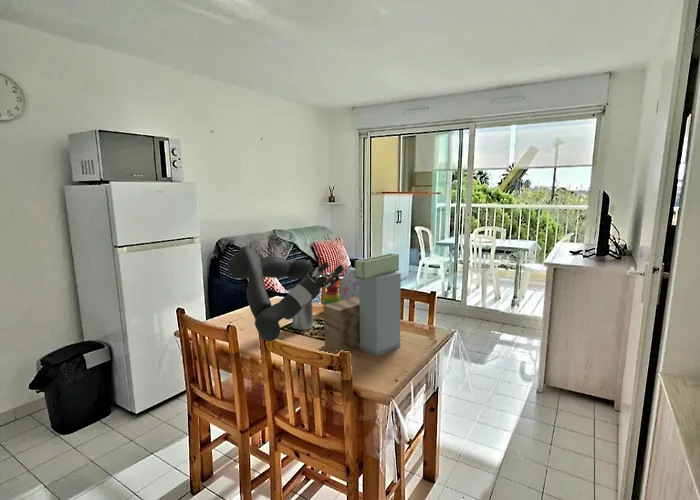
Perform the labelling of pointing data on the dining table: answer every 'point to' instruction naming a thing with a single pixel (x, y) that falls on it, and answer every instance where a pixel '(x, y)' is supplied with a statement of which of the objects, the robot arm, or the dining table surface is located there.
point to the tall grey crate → (380, 313)
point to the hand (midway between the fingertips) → (334, 265)
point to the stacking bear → (332, 294)
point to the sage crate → (376, 266)
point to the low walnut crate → (342, 324)
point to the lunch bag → (349, 285)
